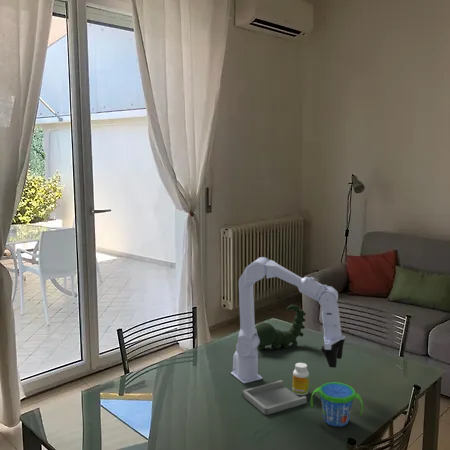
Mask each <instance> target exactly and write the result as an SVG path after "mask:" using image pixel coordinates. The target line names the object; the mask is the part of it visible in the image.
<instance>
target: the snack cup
mask: <svg viewBox="0 0 450 450" xmlns="http://www.w3.org/2000/svg"><path fill="white" fill-rule="evenodd" d="M316 393H318V394H319V397H320V401H321V408H322V417H323V421H324V422H325V423H327V425H329V426H331V427H340V428H342V427H343V426H346V425H347V424H349V422H350V417H351V412H352V407H353V401H354V399H357V400H358V401H359V403H360V412H359V414H360V416H362V415H363V411H364V401H363V399H362V397H361V395H360V394H359V393H357V392H356V391H355V389H354V388H353V387H352V386H351V385H350V384H349V385H348V384H345V383H342V382H338V381H337V382H335V381H334V382H333V381H332V382H326V383H323V384H322V385H320V387H316V388H315V389H314V390H313V392H312V394H311V397H310V401H309V402H310V408H313V407H314V399H313V397H314V395H315V394H316Z"/></svg>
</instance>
